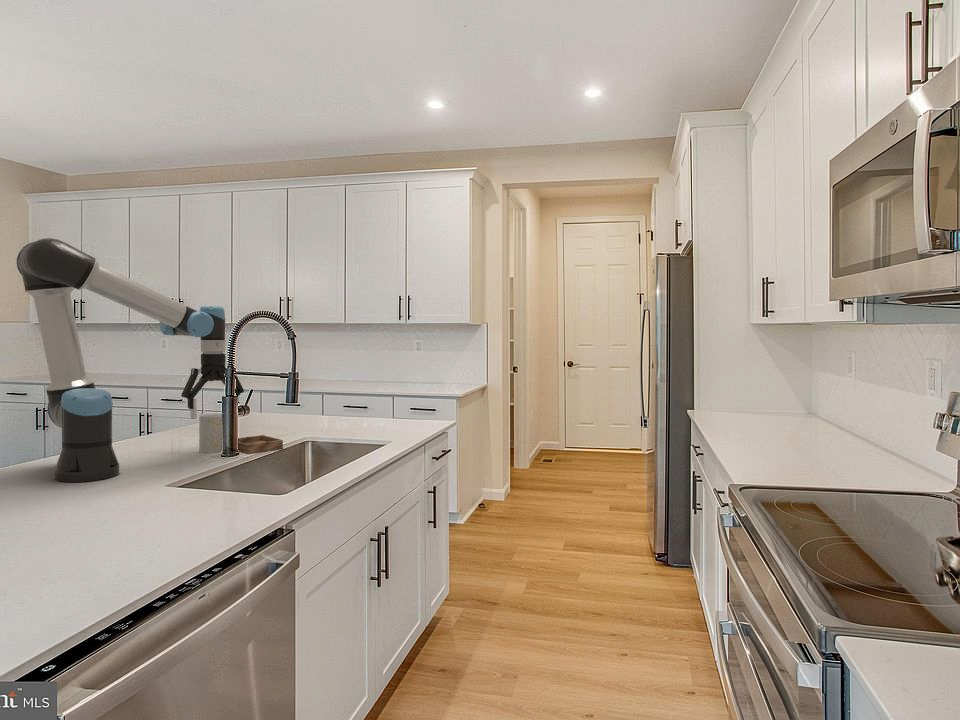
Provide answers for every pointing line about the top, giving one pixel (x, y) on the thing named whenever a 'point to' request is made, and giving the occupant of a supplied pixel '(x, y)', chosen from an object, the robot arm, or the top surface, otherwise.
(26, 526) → the top surface
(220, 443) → the light grey upright block
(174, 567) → the top surface
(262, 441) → the wooden tray
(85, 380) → the robot arm
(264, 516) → the top surface
